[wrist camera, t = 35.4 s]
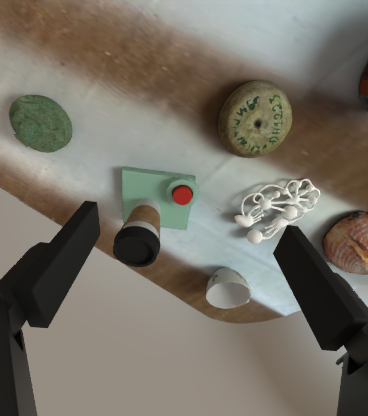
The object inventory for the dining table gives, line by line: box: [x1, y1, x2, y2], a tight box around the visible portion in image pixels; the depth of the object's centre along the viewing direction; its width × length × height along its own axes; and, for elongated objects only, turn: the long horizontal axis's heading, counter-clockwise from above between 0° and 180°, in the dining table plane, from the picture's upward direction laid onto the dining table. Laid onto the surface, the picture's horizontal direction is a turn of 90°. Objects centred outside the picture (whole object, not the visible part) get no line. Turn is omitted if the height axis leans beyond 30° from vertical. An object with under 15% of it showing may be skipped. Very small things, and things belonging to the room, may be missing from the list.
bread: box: [323, 212, 368, 275], centre depth 51 cm, size 16×20×10 cm
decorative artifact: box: [9, 95, 72, 153], centre depth 37 cm, size 10×7×10 cm
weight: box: [218, 80, 292, 158], centre depth 38 cm, size 14×13×5 cm
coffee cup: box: [113, 198, 161, 267], centre depth 42 cm, size 8×8×15 cm
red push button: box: [173, 185, 192, 205], centre depth 44 cm, size 4×4×2 cm
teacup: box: [206, 267, 251, 309], centre depth 60 cm, size 15×12×8 cm
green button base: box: [122, 167, 199, 230], centre depth 47 cm, size 17×14×4 cm
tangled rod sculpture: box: [234, 179, 320, 244], centre depth 48 cm, size 19×14×4 cm
